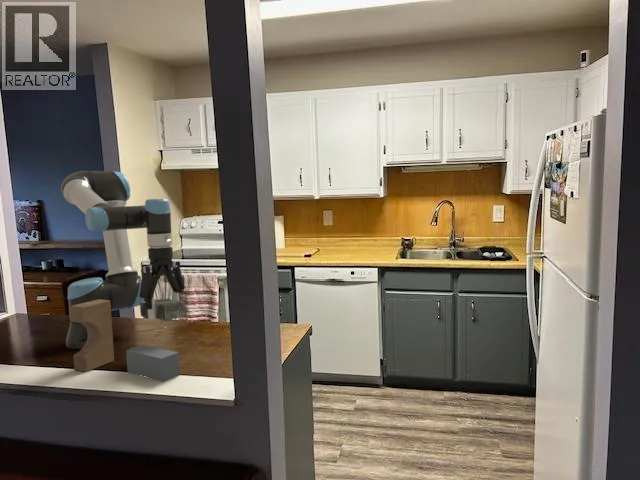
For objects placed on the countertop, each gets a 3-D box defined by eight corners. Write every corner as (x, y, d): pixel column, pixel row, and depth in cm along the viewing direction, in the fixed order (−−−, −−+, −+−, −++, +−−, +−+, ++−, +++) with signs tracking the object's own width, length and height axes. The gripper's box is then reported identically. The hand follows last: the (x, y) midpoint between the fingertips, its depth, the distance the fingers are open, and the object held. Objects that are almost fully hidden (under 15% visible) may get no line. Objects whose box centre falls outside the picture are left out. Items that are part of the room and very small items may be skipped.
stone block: (164, 311, 167) (163, 296, 167) (189, 316, 158) (188, 300, 157) (140, 316, 160) (139, 300, 160) (165, 321, 151) (164, 305, 151)
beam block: (127, 373, 147) (126, 350, 146) (144, 366, 152) (142, 345, 151) (163, 382, 138) (161, 358, 138) (179, 375, 143) (178, 352, 143)
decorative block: (85, 372, 148) (81, 307, 146) (73, 370, 150) (68, 306, 149) (115, 361, 158) (111, 300, 156) (103, 359, 160) (98, 299, 159)
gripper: (139, 250, 146) (144, 324, 148) (193, 243, 165) (197, 309, 166) (123, 250, 150) (128, 322, 152) (178, 243, 169) (181, 307, 170)
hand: (164, 315), depth 159 cm, fingers closed on stone block, 9 cm apart
